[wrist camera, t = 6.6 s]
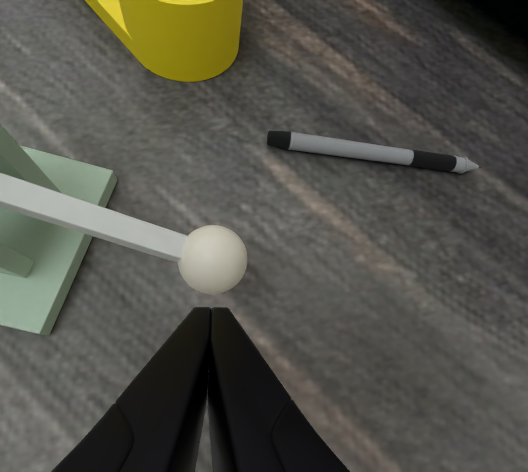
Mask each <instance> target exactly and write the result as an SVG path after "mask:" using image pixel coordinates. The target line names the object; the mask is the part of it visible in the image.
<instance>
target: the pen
mask: <svg viewBox="0 0 528 472" xmlns="http://www.w3.org/2000/svg"><path fill="white" fill-rule="evenodd" d="M267 144H268V145H272V146H276V147H280V148H284V149H288V150H297V151H304V152H312V153H320V154H327V155H335V156H342V157H350V158H357V159H365V160H372V161H380V162H387V163H395V164H402V165H408V166H414V167H421V168H429V169H436V170H443V171H449V172H457V173H459V174H462V173H464V172H466V171H471V170H475V169H478V168H480V167H479V166H478V165H476V164H474V163H473V162H471V161H470V160H468V158H467V157H465V156H463V157H457V156H451V155H444V154H437V153H430V152H423V151H417V150H407V149H400V148H394V147H387V146H381V145H374V144H367V143H361V142H354V141H348V140H341V139H334V138H328V137H321V136H315V135H308V134H301V133H295V132H292V131H291V132H286V131H269V132H268V136H267Z"/></svg>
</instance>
